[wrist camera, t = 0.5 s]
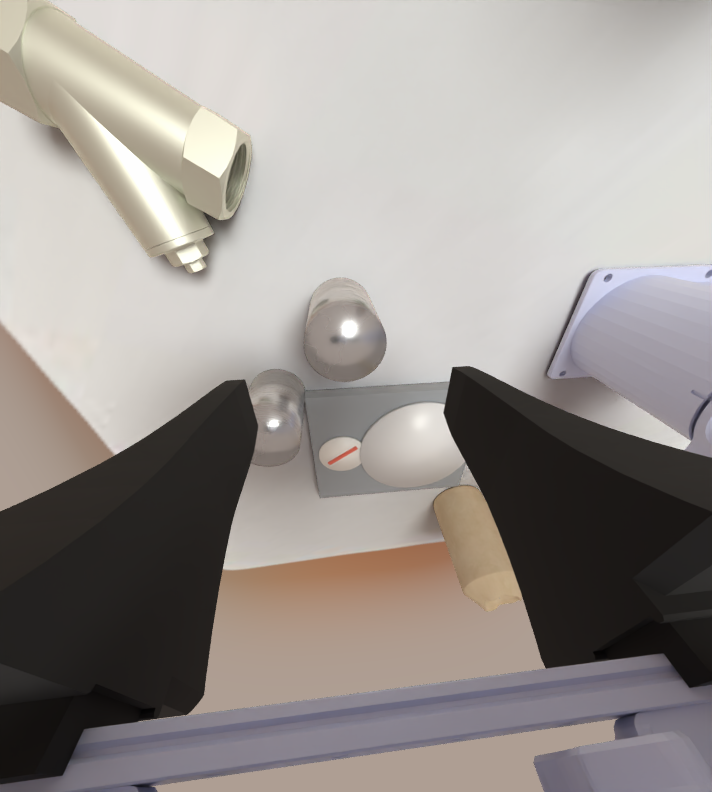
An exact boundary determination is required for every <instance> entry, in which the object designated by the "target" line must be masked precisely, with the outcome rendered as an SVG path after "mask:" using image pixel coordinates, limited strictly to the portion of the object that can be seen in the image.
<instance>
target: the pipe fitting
mask: <svg viewBox="0 0 712 792" xmlns="http://www.w3.org/2000/svg"><path fill="white" fill-rule="evenodd" d="M0 102H2V103H4V104H6V105H8V106H10V107H11V108H13V109H15V110H17V111H19V112H21V113H22V114H24V115H26V116H28V117H30V118H32V119H34V120H35V121H37V122H39V123H41V124H45V125H49V126H52V127H56V128H60V130H61V131H62V133H63V134H64V135H65V137H66V138H67V140H68V141H69V143H70V144H71V146H72V147H73V148H74V150H75V151H76V153H77V154H78V156H79V157H80V158H81V160H82V161H83V163H84V164H85V166H86V167H87V168H88V170H89V171H90V173H91V174H92V176H93V177H94V179H95V180H96V181H97V183H98V184H99V186H100V187H101V189H102V190H103V191H104V193H105V194H106V196H107V197H108V199H109V200H110V201H111V203H112V204H113V206H114V207H115V209H116V210H117V212H118V213H119V214H120V216H121V217H122V219H123V220H124V222H125V223H126V224H127V226H128V227H129V229H130V230H131V232H132V233H133V234H134V236H135V237H136V239H137V240H138V242H139V243H140V245H141V246H142V247H143V249H144V250H145V252H146V253H147V255H148V256H149V257H150V258H153V257H156V256H159V255H162V254H165V256H166V257H167V259H168V260H169V262H170V263H171V265H172V266H174V267H179V266H182V265H184V266H185V268H186V270H187V271H188V273H195V272H197V271H200V270H202V269H204V268H206V264H205V262H204V261H203V259H202V257H204V256H206V255H208V253H209V250H208V249H207V247H206V245H205V243H204V241H203V239H204V238H206V237H209V236H211V235H213V234H214V232H213V230H212V228H211V226H210V224H209V222H208V221H207V219H206V217H205V215H204V213H203V212H205V213H207V214H209V215H210V216H212V217H214V218H216V219H218V220H226V219H229V218H231V217H232V216H233V214H234V213H235V211H236V209H237V207H238V205H239V203H240V201H241V198H242V196H243V193H244V190H245V186H246V183H247V179H248V175H249V170H250V163H251V154H252V145H251V137H250V135H249V134H248V133H246V132H245V131H243V130H242V129H240V128H239V127H237V126H236V125H234V124H233V123H231V122H230V121H228V120H227V119H225V118H223V117H222V116H220V115H219V114H217V113H215V112H214V111H212V110H210V109H208V108H206V107H204V106H201V105H200V104H198V103H197V102H195V101H194V100H192V99H191V98H189V97H188V96H186V95H185V94H183V93H182V92H180V91H178V90H177V89H175V88H174V87H172V86H171V85H169V84H168V83H166V82H165V81H163V80H162V79H160V78H159V77H157V76H156V75H154V74H153V73H151V72H150V71H148V70H147V69H145V68H144V67H142V66H141V65H139V64H138V63H136V62H135V61H133V60H132V59H130V58H129V57H127V56H126V55H124V54H123V53H121V52H120V51H118V50H116V49H115V48H113V47H112V46H110V45H109V44H107V43H106V42H104V41H103V40H101V39H100V38H98V37H97V36H95V35H94V34H92V33H91V32H89V31H88V30H86V29H85V28H83V27H82V26H80V25H79V24H77V23H76V20H75V18H73V17H72V16H70V15H69V14H67V13H66V12H64V11H63V10H61V9H59V8H58V7H56V6H55V5H53V4H52V3H50V2H49V1H47V0H0ZM208 226H209V227H208ZM205 227H206V228H205ZM203 228H204V229H203ZM200 229H201V230H200ZM197 230H198V231H197ZM192 232H193V233H192ZM189 233H190V234H189ZM184 235H185V236H184ZM181 236H182V237H181ZM176 238H177V239H176ZM173 239H174V240H173ZM168 241H169V242H168ZM165 242H166V243H165ZM160 244H161V245H160ZM157 245H158V246H157ZM154 246H155V247H154ZM152 247H153V248H152ZM149 248H150V249H149ZM146 249H147V250H146Z"/></svg>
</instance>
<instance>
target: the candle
mask: <svg viewBox="0 0 712 792" xmlns="http://www.w3.org/2000/svg"><path fill="white" fill-rule="evenodd" d="M434 511H435V514H436V517H437V520H438V522H439V525H440V528H441V531H442V534H443V537H444V540H445V542H446V545H447V548H448V551H449V554H450V557H451V559H452V562H453V565H454V568H455V571H456V574H457V577H458V579H459V582H460V585H461V588H462V591H463V593H464V595H465V596H467V597H468V598H470V599H471V600H472V601H474V602H475V603H477V604H478V605H479V606H480V607H482V608H483V609H484V610H485V611H487V612H488V611H493V610H495V609H497V607H498V606H499V605H502V604H505V603H514V602H516V601H518V600H520V601H521V600H522V594H521V591H520V588H519V586H518V583H517V580H516V577H515V574H514V571H513V568H512V566H511V563H510V560H509V557H508V555H507V552H506V549H505V547H504V544H503V542H502V539H501V536H500V534H499V531H498V529H497V526H496V524H495V521H494V519H493V516H492V514H491V512H490V509H489V507H488V504H487V503H486V501H485V499H484V497H483V495H482V494H481V492H480V491H479V490H478V489H477V488H475V487H473V486H456V487H453V488H450V489H447V490H445V491H444V492H442V493H441V494H440V495H438V496H437V498H436V499H435V501H434Z"/></svg>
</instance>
